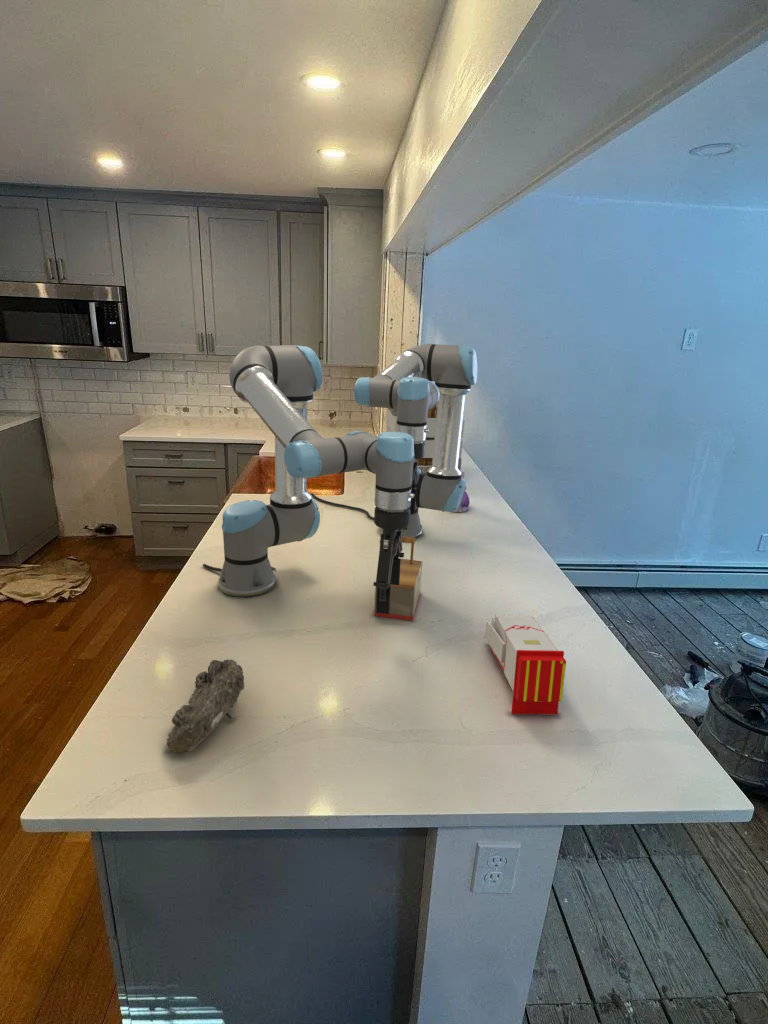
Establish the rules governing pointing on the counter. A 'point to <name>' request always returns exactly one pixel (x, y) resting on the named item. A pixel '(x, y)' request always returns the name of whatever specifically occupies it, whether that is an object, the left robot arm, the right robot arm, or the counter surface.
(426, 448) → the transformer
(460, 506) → the figurine
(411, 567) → the lid
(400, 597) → the chest
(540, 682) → the toy
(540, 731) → the counter surface
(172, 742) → the fossil
